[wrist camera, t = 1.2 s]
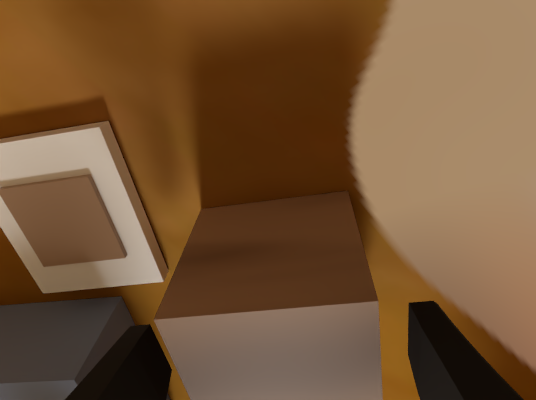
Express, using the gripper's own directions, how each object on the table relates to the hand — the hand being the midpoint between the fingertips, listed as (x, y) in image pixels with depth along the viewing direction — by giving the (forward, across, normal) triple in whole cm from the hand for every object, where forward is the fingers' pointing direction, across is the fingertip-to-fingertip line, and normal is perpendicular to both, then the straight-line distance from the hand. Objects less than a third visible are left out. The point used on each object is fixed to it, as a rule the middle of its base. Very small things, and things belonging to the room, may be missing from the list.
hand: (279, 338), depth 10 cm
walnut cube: (+4, 0, 0) cm, 4 cm away
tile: (+4, +7, -3) cm, 8 cm away
